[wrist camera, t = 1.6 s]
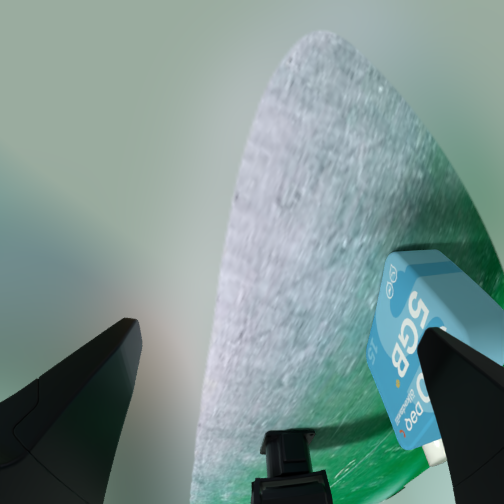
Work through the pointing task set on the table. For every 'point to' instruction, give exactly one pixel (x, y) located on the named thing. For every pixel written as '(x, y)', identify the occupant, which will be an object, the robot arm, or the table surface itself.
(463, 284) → the light blue rounded block
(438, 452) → the white rounded cylinder
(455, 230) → the table surface
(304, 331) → the table surface
